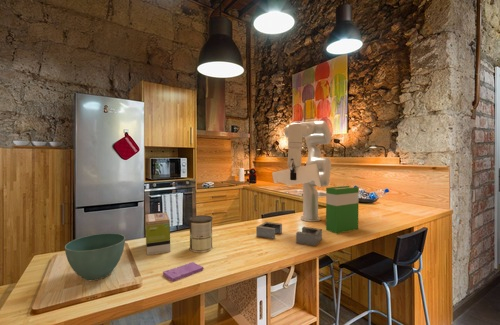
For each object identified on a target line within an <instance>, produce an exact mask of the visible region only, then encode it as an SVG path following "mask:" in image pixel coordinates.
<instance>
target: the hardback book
mask: <svg viewBox="0 0 500 325" xmlns="http://www.w3.org/2000/svg"><path fill="white" fill-rule="evenodd" d="M359 189H360V188H359V186H355V187H353V186H352V187H350V185H343V186H332V187H326V189H325V194H326V195H325V197H326V198H325V199H326V200H325V202H326V203H325V214H326V215H325V231H328V232H331V233H333V234H337V235H338V234H340V233H341V234H342V233H345V232H349V231H350V232H351V231H354V230H359V200H360V198H359V195H360V194H359V191H360V190H359Z"/></svg>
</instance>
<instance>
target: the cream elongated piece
mask: <svg viewBox="0 0 500 325" xmlns="http://www.w3.org/2000/svg"><path fill="white" fill-rule="evenodd" d="M271 175H272V180H273V183H274V184H280V183H281V184H282V185H283V184H284V185H286V186H287V187H289V186H295V185H301V184H302V185H303V183H308V182H311V181H314V182H315V185H316V186H315V187H318V188H322V187H321V183H320V179H319V171H318V168H317V164H312V165H307V164H306V165H301V166H300V167H296V180H290V168H287V169H280V170H278V171H273V172H272V173H271Z"/></svg>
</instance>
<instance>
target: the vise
mask: <svg viewBox="0 0 500 325" xmlns="http://www.w3.org/2000/svg"><path fill="white" fill-rule="evenodd" d="M255 230H256V232H255V233H256V235H255V236H256V237H257V238H263V239H269V240H270V239H271V240H274V239H276V235H278V234H279V235H281V234H282V233H283V224H282V223H279V222H270V221H264V222H263V223H262V224H259V225H257V226H256V228H255ZM295 237H296V238H295V242H296V244H300V245H304V244H305V245H306V246H311V247H317V246H318V245H319V243H320V242H321V241H322V239H323V229H322V228H316V227H309V226H302V227H301V231H297V232H296V234H295Z"/></svg>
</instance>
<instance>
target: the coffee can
mask: <svg viewBox="0 0 500 325" xmlns="http://www.w3.org/2000/svg"><path fill="white" fill-rule="evenodd" d="M189 246H190V247H189V251H191V252H193V253H199V254H200V253H206V252H209V251H211V250H212V249H213V216H211V215H205V214H203V215H202V214H200V215H194V216H191V217H189Z"/></svg>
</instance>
